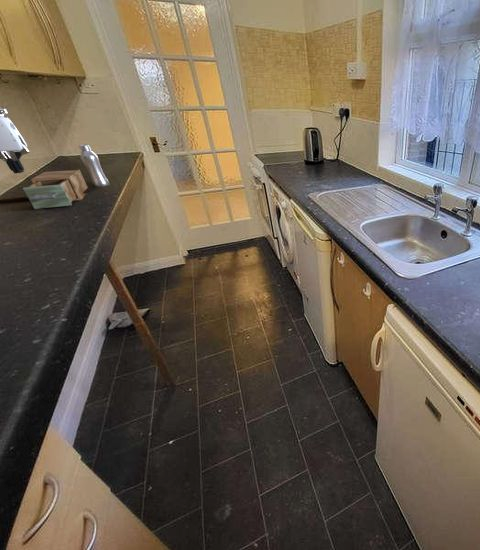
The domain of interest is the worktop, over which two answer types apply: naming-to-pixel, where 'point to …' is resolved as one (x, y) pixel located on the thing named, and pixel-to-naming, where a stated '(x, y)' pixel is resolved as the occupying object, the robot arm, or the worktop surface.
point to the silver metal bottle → (93, 166)
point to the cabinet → (72, 175)
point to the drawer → (50, 193)
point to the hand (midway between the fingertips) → (19, 172)
